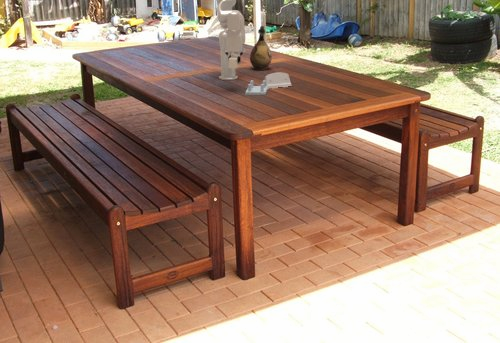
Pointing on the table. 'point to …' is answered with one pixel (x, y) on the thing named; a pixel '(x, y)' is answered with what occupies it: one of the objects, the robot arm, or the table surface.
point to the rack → (256, 89)
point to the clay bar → (233, 61)
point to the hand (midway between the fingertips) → (234, 62)
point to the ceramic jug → (260, 53)
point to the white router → (277, 80)
